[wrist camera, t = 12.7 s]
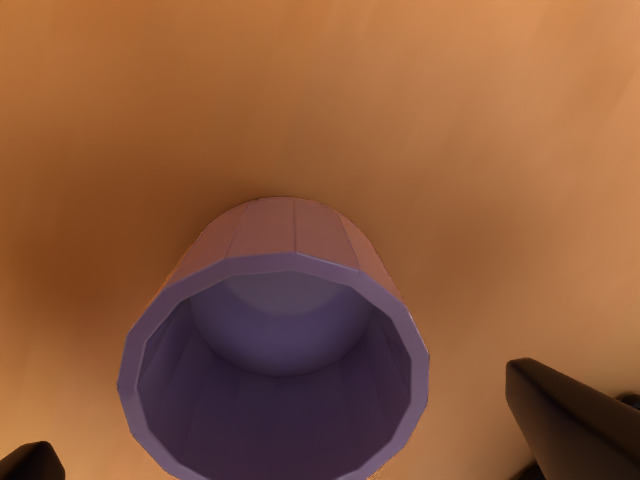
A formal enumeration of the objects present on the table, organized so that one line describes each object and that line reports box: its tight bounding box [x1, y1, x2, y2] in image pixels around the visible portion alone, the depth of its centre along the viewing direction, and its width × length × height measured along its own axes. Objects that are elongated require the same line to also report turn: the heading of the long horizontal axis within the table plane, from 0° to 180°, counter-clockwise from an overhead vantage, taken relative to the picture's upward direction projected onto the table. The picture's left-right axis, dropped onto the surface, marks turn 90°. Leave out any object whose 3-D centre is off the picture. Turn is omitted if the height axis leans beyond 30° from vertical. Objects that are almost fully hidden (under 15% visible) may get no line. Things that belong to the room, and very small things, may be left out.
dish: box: [116, 197, 430, 480], centre depth 10 cm, size 6×6×4 cm
